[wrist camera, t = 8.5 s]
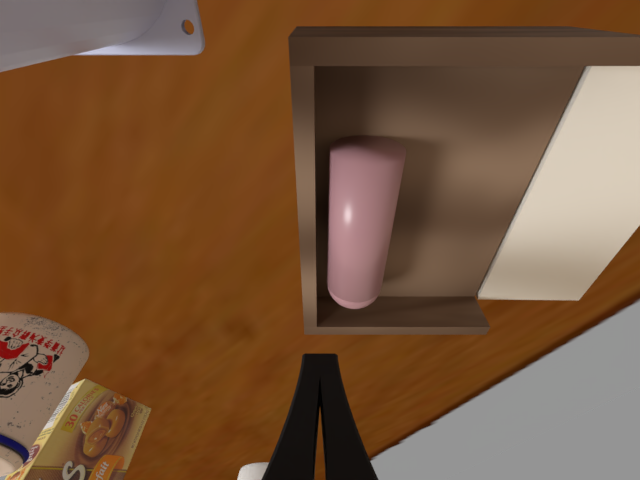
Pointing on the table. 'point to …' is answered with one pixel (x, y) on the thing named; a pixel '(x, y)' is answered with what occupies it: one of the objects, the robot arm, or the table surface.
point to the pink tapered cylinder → (361, 215)
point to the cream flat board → (575, 195)
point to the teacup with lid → (32, 380)
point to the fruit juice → (252, 471)
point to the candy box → (86, 437)
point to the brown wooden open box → (431, 152)
